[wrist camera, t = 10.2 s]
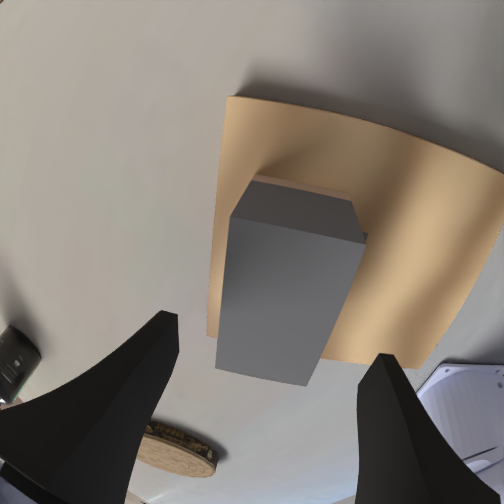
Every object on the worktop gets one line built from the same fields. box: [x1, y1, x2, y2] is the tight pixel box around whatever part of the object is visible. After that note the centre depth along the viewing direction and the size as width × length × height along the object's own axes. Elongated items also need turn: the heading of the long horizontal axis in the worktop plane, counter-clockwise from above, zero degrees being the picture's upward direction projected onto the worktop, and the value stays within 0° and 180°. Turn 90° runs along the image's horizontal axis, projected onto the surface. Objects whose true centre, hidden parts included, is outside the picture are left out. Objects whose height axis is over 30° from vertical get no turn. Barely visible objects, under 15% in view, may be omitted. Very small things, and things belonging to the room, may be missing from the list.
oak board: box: [206, 95, 504, 369], centre depth 16 cm, size 16×15×2 cm
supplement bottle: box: [0, 327, 40, 406], centre depth 26 cm, size 7×7×12 cm
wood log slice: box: [136, 420, 219, 478], centre depth 36 cm, size 16×16×3 cm
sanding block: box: [215, 174, 366, 386], centre depth 14 cm, size 4×8×5 cm, turn 172°
